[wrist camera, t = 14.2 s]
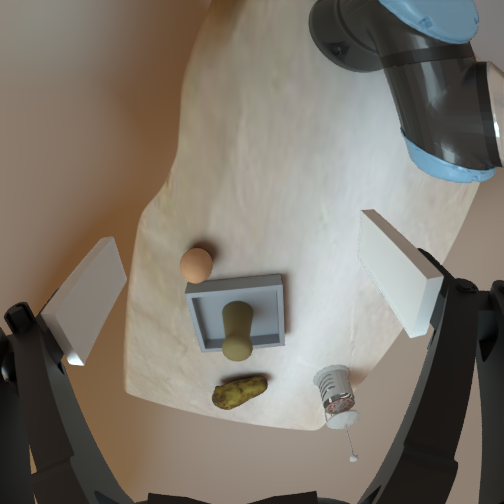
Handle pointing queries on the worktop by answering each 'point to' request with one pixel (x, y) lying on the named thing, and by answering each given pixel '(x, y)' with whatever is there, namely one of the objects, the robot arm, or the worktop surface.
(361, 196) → the worktop surface
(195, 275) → the egg
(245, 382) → the potato
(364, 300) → the worktop surface
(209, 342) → the grey bin
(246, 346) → the cork
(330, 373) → the french press
